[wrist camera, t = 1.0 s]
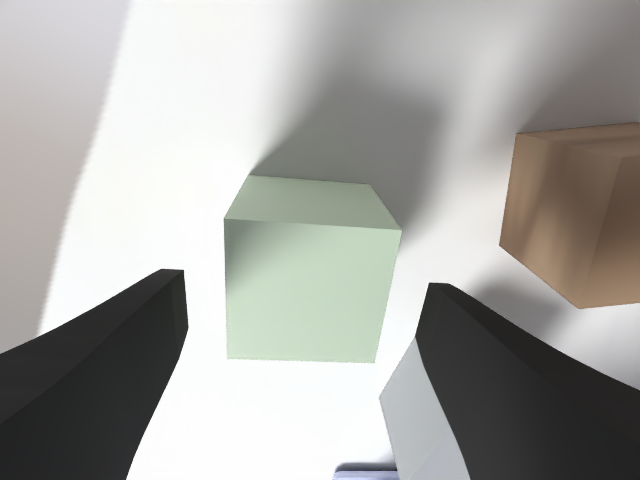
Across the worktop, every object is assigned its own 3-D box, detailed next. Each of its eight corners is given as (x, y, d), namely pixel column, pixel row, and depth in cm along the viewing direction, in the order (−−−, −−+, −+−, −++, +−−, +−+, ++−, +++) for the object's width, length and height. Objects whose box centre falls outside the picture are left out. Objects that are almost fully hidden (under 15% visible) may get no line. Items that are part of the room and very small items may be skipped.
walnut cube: (603, 234, 16) (725, 293, 11) (498, 244, 16) (578, 309, 11) (636, 121, 14) (801, 139, 9) (515, 133, 14) (621, 157, 9)
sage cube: (353, 285, 16) (374, 363, 12) (247, 280, 16) (227, 359, 11) (369, 183, 14) (402, 230, 10) (248, 174, 14) (223, 218, 9)
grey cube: (453, 413, 20) (497, 506, 16) (378, 395, 20) (402, 490, 15) (498, 351, 19) (563, 437, 14) (417, 329, 18) (459, 414, 13)
